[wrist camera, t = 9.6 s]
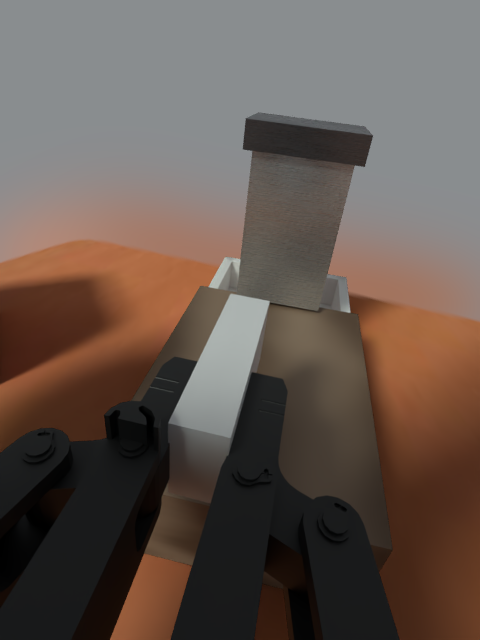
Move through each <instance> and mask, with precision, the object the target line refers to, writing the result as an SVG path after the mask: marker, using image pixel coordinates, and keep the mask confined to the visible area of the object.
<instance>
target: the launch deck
mask: <svg viewBox="0 0 480 640" xmlns="http://www.w3.org/2000/svg"><path fill="white" fill-rule="evenodd" d="M230 294H235V295H236V294H237V292H232V291H227V290H221V289H216V288H210V287H205V286H200V288H199V289H198V291H197V293H196V294H195V296H194V298H193V299H192V301H191V303H190V304H189V306H188V308H187V309H186V311H185V312H184V314H183V316H182V317H181V319H180V321H179V322H178V324H177V326H176V327H175V329H174V331H173V332H172V334H171V336H170V337H169V339H168V341H167V342H166V344H165V346H164V347H163V349H162V351H161V352H160V354H159V355H158V357H157V359H156V360H155V362H154V364H153V365H152V367H151V369H150V370H149V372H148V374H147V375H146V377H145V379H144V380H143V382H142V384H141V385H140V387H139V389H138V390H137V392H136V394H135V395H134V397H133V398H132V400H131V401H141V400H142V398H143V397H144V395H145V393H146V392H147V390H148V388H150V385H151V383H152V382H153V380H154V378H156V375H157V373H158V372H159V370H160V368H161V367H162V365H163V364H165V363H166V362H167V361H169V360H170V359H172V358H173V357H180V358H185V359H189V360H194V361H198V360H199V358H200V356H201V354H202V352H203V350H204V348H205V346H206V344H207V342H208V339H209V337H210V335H211V333H212V331H213V329H214V327H215V325H216V323H217V321H218V319H219V317H220V315H221V313H222V310H223V308H224V306H225V304H226V302H227V300H228V298H229V296H230ZM256 373H259V374H263V375H268V376H273V377H277V378H282V379H283V380H284V383H285V385H286V388H287V390H288V394H287V401H286V408H285V415H284V422H283V429H282V436H281V443H280V450H279V467H280V471H281V473H282V475H283V476H284V478H285V479H286V480H287V482H288V483H289V484H290V485H291V486H293V487H294V488H295V489H297V490H298V491H300V492H301V493H303V494H305V495H306V496H308V497H310V498H312V499H315V498H316V497H320V496H326V495H328V496H333V497H337V498H340V499H342V500H343V501H345V502H347V503H349V504H350V505H351V506H352V507H353V508H354V509H355V510H356V511H357V512H358V514H359V515H360V517H361V519H362V521H363V523H364V526H365V529H366V532H367V535H368V539H369V542H370V545H371V548H372V552H373V555H374V558H375V561H376V565H377V568H378V571H380V569H381V568H382V566H383V565H384V563H385V562H386V560H387V558H388V557H389V555H390V554H391V552H392V550H393V548H392V541H391V535H390V528H389V521H388V514H387V508H386V501H385V494H384V487H383V480H382V474H381V467H380V460H379V453H378V447H377V440H376V433H375V426H374V420H373V413H372V406H371V399H370V393H369V386H368V379H367V372H366V366H365V359H364V352H363V345H362V339H361V332H360V325H359V318H358V314H354V313H348V312H343V311H337V310H332V309H326V308H321V307H319V309H318V311H314V310H309V309H303V308H298V307H292V306H287V305H281V304H276V303H269V309H268V315H267V321H266V327H265V333H264V338H263V344H262V350H261V356H260V361H259V365H258V368H257V372H256ZM209 507H210V503H207V502H203V501H199V500H195V499H191V498H188V497H184V496H180V495H176V494H172V493H168V483H167V486H166V488H165V491H164V493H163V496H162V505H161V510H160V514H159V517H158V519H157V522H156V524H155V527H154V530H153V532H152V535H151V537H150V540H149V542H148V545H147V547H146V550H145V552H144V553H145V554H149V555H153V556H157V557H161V558H164V559H168V560H172V561H176V562H180V563H184V564H188V565H193V561H194V558H195V554H196V551H197V548H198V544H199V541H200V537H201V534H202V530H203V527H204V524H205V520H206V517H207V513H208V510H209ZM262 584H265V585H269V586H273V587H277V588H281V589H283V584H281V583H280V582H279V581H277V580H276V579H274V578H273V577H272V576H270V575H269V574H267V573H266V572H265V571H264V573H263V580H262Z"/></svg>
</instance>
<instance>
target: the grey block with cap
mask: <svg viewBox="0 0 480 640" xmlns="http://www.w3.org/2000/svg"><path fill="white" fill-rule="evenodd" d="M372 137H373V135H372V134H371V133H370V132H369V131H368V130H367V129H366V127H364V126H356V125H349V124H341V123H334V122H326V121H318V120H311V119H304V118H295V117H289V116H281V115H274V114H265V113H257V114H255V115H252V116H250V117H248V118H246V123H245V133H244V143H243V149H244V150H251V151H252V160H251V169H250V178H249V187H248V196H247V205H246V213H245V223H244V232H243V240H242V249H241V258H240V267H239V276H238V285H237V294H236V295H241V296H246V297H251V298H256V299H261V300H267V301H270V303H276V304H281V305H287V306H292V307H298V308H303V309H309V310H314V311H318V309H319V305H320V301H321V297H322V293H323V290H324V286H325V282H326V278H327V274H328V269H329V266H330V262H331V258H332V254H333V249H334V246H335V242H336V237H337V234H338V230H339V225H340V222H341V218H342V214H343V210H344V206H345V202H346V198H347V194H348V190H349V186H350V182H351V178H352V174H353V170H354V166H355V165H356V166H363V167H365V164H366V160H367V156H368V152H369V149H370V145H371V141H372Z"/></svg>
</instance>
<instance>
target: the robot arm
mask: <svg viewBox="0 0 480 640" xmlns="http://www.w3.org/2000/svg"><path fill="white" fill-rule="evenodd" d="M269 303H270V301H267V300H261V299H256V298H251V297H246V296H241V295H235V294H230V296H229V298H228V300H227V302H226V304H225V306H224V308H223V310H222V313H221V315H220V317H219V319H218V321H217V323H216V325H215V327H214V329H213V331H212V333H211V335H210V337H209V339H208V342H207V344H206V346H205V348H204V350H203V352H202V354H201V356H200V358H199V360H198V361H194V360H189V359H185V358H180V357H173V358H172V359H170V360H169V361H167V362H166V363H165V364H163V365H162V367H161V368H160V370H159V372H158V373H157V375H156V378H154V380H153V382H152V383H151V385H150V388H148V390H147V392H146V393H145V395H144V397H143V398H142V400H141V401H128V402H123V403H120V404H118V405H116V406H114V407H112V408H111V409H110V410H109V411H108V412H107V413H106V414H105V415H104V418H105V426H106V434H107V438H105V439H101V440H94V441H75V442H69V438H68V436H67V435H66V434H65V433H64V432H63V431H61V430H57V429H54V428H41V429H38V430H34V431H31V432H29V433H27V434H25V435H24V436H22V437H20V438H19V439H17V440H16V441H15V442H14V443H12V444H11V445H10V446H9V447H7V448H6V449H5V450H4V451H2V452H1V453H0V640H110V638H111V635H112V633H113V630H114V628H115V625H116V623H117V620H118V618H119V615H120V613H121V610H122V608H123V605H124V603H125V600H126V597H127V595H128V592H129V590H130V587H131V585H132V582H133V580H134V577H135V575H136V572H137V570H138V567H139V565H140V562H141V560H142V557H143V555H144V552H145V550H146V547H147V545H148V542H149V540H150V537H151V535H152V532H153V530H154V527H155V524H156V522H157V519H158V517H159V514H160V510H161V505H162V496H163V493H164V491H165V488H166V486H167V483H168V493H172V494H176V495H180V496H184V497H188V498H191V499H195V500H199V501H203V502H207V503H210V507H209V510H208V513H207V517H206V520H205V524H204V527H203V530H202V534H201V537H200V541H199V544H198V548H197V551H196V554H195V558H194V561H193V565H192V568H191V571H190V575H189V578H188V582H187V585H186V589H185V592H184V595H183V599H182V602H181V606H180V609H179V612H178V616H177V619H176V623H175V626H174V630H173V633H172V636H171V640H254V637H255V630H256V623H257V616H258V609H259V602H260V594H261V587H262V580H263V573H264V571H265V572H266V573H267V574H269V575H270V576H272V577H273V578H274V579H276V580H277V581H279V582H280V583H281V584H283V591H284V600H285V609H286V617H287V626H288V635H289V640H400V639H399V636H398V633H397V630H396V626H395V623H394V620H393V617H392V613H391V610H390V607H389V604H388V600H387V597H386V594H385V591H384V587H383V584H382V581H381V578H380V574H379V571H378V568H377V565H376V561H375V558H374V555H373V552H372V548H371V545H370V542H369V539H368V535H367V532H366V529H365V526H364V523H363V521H362V519H361V517H360V515H359V514H358V512H357V511H356V510H355V509H354V508H353V507H352V506H351V505H350V504H349V503H347V502H345V501H343V500H342V499H340V498H337V497H333V496H328V495H326V496H320V497H316V498H315V499H312V498H310V497H308V496H306V495H305V494H303V493H301V492H300V491H298V490H297V489H295V488H294V487H293V486H291V485H290V484H289V483H288V482H287V480H286V479H285V478H284V476H283V475H282V473H281V471H280V467H279V450H280V443H281V436H282V429H283V422H284V415H285V408H286V401H287V394H288V390H287V388H286V385H285V383H284V380H283V379H282V378H277V377H273V376H268V375H263V374H259V373H256V372H257V368H258V365H259V361H260V356H261V350H262V344H263V338H264V333H265V327H266V321H267V315H268V309H269Z"/></svg>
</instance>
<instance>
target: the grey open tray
mask: <svg viewBox="0 0 480 640" xmlns="http://www.w3.org/2000/svg"><path fill="white" fill-rule="evenodd" d="M239 267H240V259H236V258H230V257H225V259H224V260H223V262H222V264H221V266H220V267H219V269H218V271H217V273H216V275H215V276H214V278H213V280H212V282H211V283H210V285H209V287H210V288H216V289H221V290H227V291H232V292H237V285H238V276H239ZM319 307H321V308H326V309H332V310H337V311H343V312H348V313H350V304H349V296H348V287H347V279H346V277H341V276H335V275H329V274H327V278H326V282H325V286H324V290H323V293H322V297H321V301H320V305H319Z"/></svg>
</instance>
